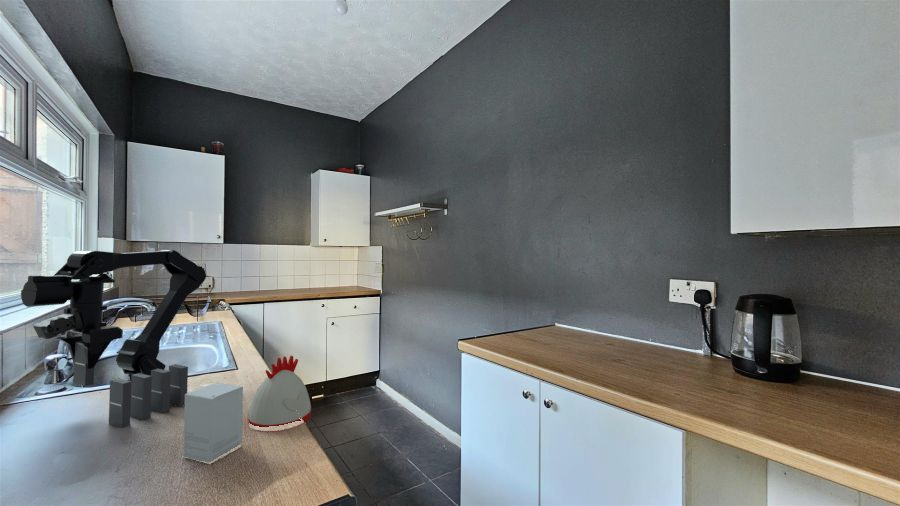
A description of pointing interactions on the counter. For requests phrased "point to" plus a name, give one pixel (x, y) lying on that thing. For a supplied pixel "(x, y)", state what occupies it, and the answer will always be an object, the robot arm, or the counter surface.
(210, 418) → the supplement box
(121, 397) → the domino
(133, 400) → the domino
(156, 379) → the domino
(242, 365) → the counter surface
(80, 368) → the domino
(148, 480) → the counter surface
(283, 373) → the grey chicken figure
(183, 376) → the domino
